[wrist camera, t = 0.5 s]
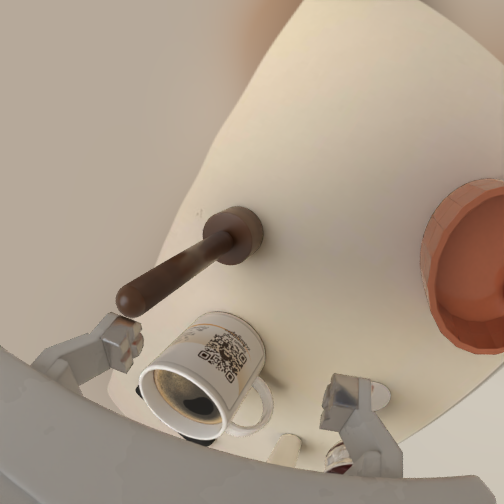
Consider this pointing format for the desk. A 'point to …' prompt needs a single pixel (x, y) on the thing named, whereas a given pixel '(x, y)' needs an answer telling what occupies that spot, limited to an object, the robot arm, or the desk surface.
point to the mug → (208, 378)
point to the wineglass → (338, 454)
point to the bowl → (467, 266)
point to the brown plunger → (194, 260)
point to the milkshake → (286, 451)
